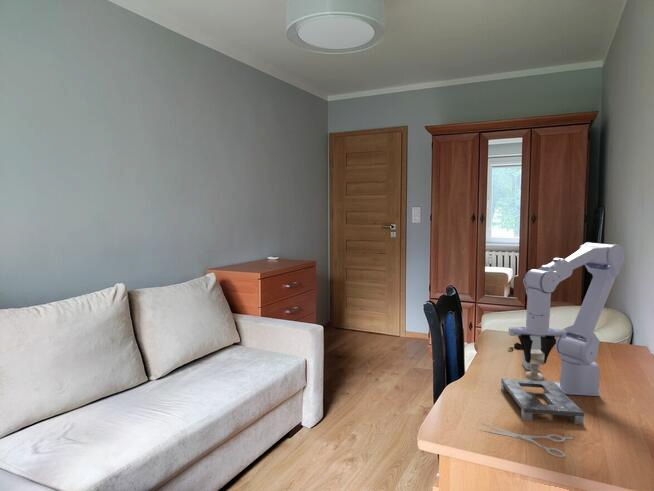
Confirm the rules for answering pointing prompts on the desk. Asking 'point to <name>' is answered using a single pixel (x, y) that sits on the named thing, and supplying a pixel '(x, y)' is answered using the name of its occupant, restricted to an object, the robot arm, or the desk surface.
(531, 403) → the keyhole plate
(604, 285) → the robot arm
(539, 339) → the skincare box
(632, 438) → the desk surface
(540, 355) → the key peg
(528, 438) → the scissors
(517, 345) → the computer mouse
